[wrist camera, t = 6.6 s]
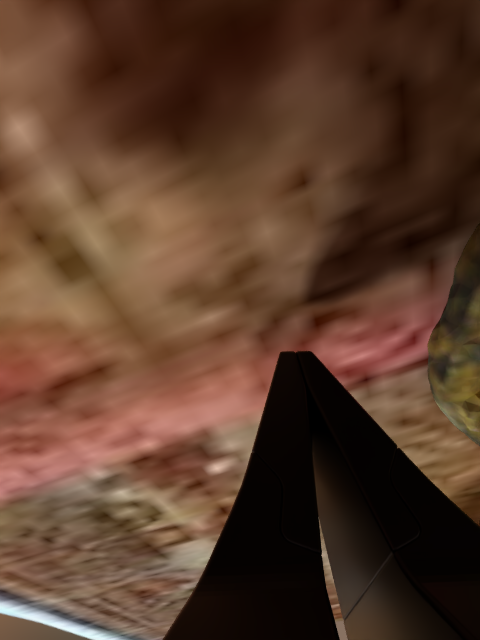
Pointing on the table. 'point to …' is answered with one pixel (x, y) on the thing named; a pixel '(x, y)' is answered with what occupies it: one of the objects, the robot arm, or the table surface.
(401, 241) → the table surface
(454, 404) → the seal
